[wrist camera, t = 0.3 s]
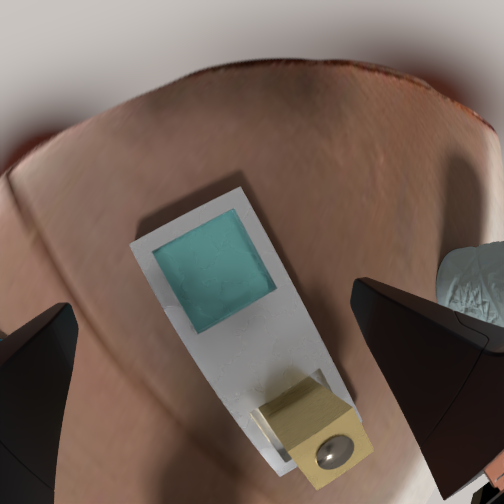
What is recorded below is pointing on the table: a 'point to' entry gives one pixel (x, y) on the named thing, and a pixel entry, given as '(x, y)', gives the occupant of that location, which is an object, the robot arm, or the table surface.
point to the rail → (237, 313)
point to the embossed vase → (474, 282)
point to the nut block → (317, 431)
